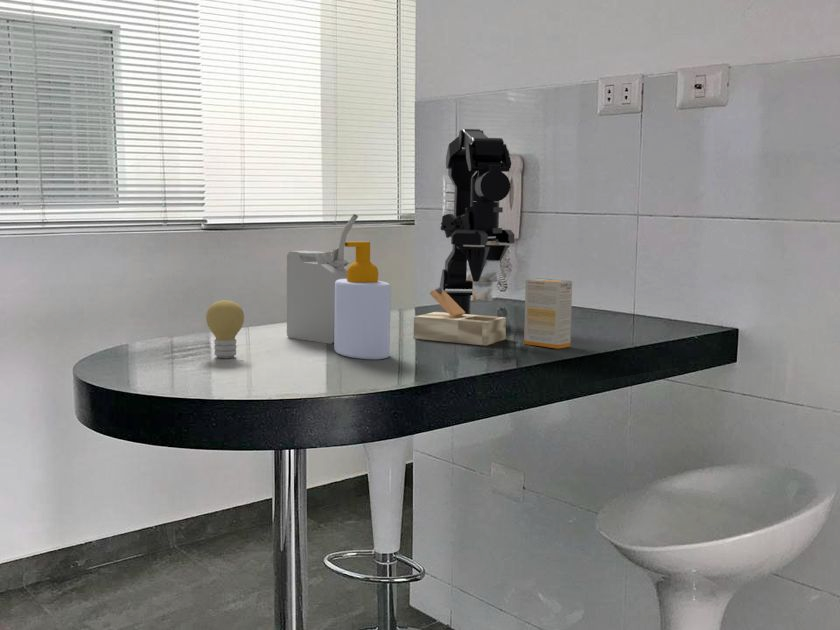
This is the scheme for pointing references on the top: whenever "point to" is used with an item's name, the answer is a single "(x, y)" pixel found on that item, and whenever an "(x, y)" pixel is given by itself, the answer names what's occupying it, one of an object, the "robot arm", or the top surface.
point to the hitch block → (460, 328)
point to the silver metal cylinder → (485, 280)
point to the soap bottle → (362, 309)
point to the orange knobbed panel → (447, 302)
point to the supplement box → (548, 312)
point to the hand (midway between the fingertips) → (482, 280)
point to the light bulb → (225, 326)
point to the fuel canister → (314, 291)
